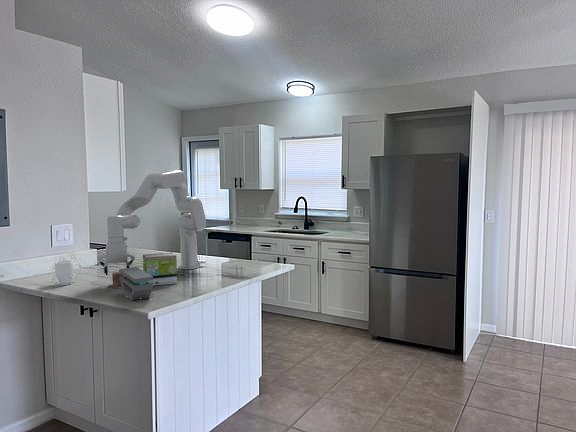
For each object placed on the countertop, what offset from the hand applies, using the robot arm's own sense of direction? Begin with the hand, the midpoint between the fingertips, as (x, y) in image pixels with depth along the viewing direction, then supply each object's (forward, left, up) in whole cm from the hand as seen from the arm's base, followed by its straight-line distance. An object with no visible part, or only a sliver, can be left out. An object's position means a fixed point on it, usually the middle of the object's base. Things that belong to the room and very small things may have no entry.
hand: (117, 274), depth 220 cm
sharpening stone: (-9, +26, -6) cm, 28 cm away
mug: (+24, -12, -6) cm, 27 cm away
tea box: (-20, +4, -6) cm, 21 cm away
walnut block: (0, 0, -6) cm, 6 cm away
